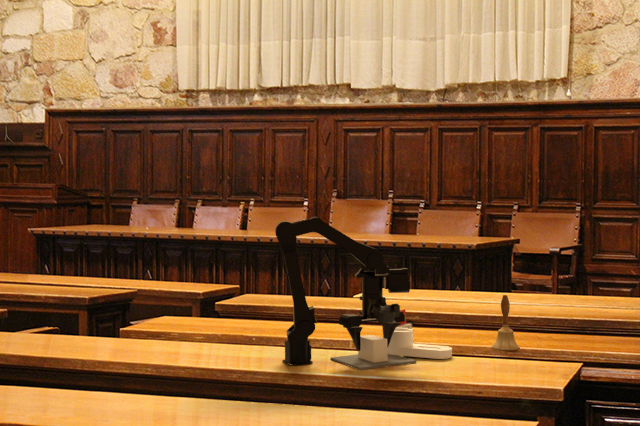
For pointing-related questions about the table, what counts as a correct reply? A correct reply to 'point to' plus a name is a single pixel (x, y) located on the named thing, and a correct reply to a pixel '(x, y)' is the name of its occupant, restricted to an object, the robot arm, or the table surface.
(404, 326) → the ink cartridge box
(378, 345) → the card deck box
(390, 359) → the grey rubber mat
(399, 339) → the bracket
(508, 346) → the hand bell
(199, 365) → the table surface
